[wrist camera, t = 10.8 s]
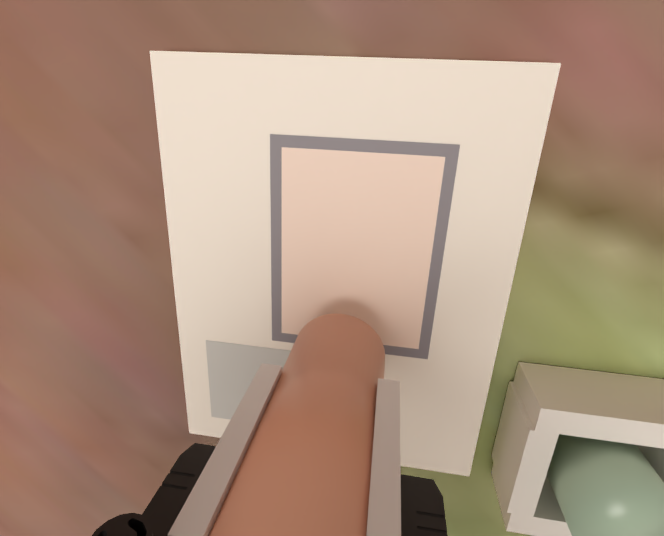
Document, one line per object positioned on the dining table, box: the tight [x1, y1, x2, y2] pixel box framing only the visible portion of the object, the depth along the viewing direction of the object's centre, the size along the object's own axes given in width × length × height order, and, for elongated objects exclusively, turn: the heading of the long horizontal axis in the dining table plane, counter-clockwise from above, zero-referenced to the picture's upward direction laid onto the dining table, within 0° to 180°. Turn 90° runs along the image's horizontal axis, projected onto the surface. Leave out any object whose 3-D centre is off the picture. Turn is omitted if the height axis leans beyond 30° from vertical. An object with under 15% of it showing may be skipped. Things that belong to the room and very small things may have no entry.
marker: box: [209, 314, 385, 536], centre depth 12 cm, size 4×4×12 cm
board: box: [150, 51, 561, 476], centre depth 20 cm, size 16×20×1 cm
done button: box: [547, 434, 664, 536], centre depth 18 cm, size 4×4×4 cm
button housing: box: [491, 362, 664, 536], centre depth 20 cm, size 7×7×4 cm
